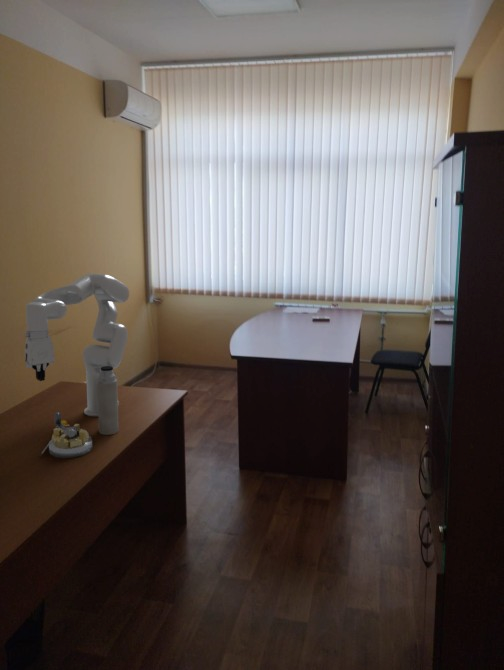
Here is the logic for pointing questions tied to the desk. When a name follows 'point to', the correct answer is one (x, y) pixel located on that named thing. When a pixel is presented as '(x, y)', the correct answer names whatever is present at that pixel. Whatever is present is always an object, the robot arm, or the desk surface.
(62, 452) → the plate with blocky chunks
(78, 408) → the desk surface
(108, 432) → the thermos bottle
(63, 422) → the screwdriver
